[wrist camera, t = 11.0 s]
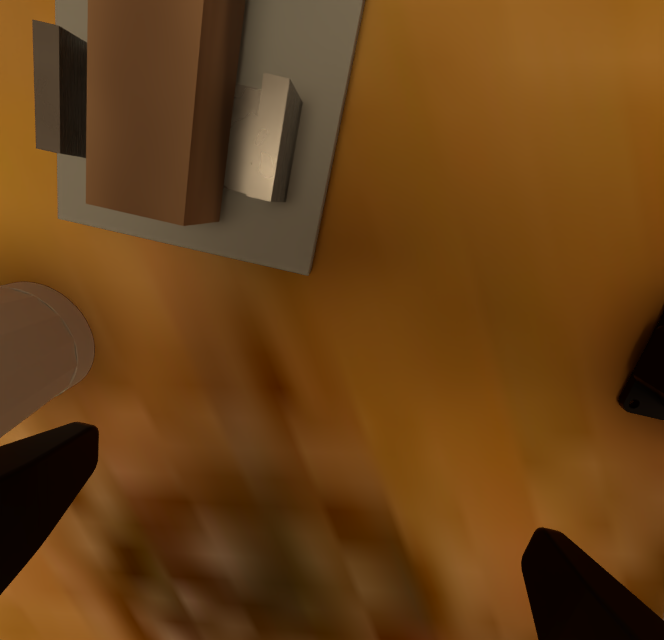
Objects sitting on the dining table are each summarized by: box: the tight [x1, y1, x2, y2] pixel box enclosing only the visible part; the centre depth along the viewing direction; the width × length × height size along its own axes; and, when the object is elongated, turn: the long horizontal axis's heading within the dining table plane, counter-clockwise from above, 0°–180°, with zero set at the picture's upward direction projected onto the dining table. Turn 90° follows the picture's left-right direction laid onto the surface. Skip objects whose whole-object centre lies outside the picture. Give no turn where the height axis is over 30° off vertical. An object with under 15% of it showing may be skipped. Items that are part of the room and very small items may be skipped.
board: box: [55, 0, 365, 276], centre depth 15 cm, size 12×18×1 cm, turn 168°
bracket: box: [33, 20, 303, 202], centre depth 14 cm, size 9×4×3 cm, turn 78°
